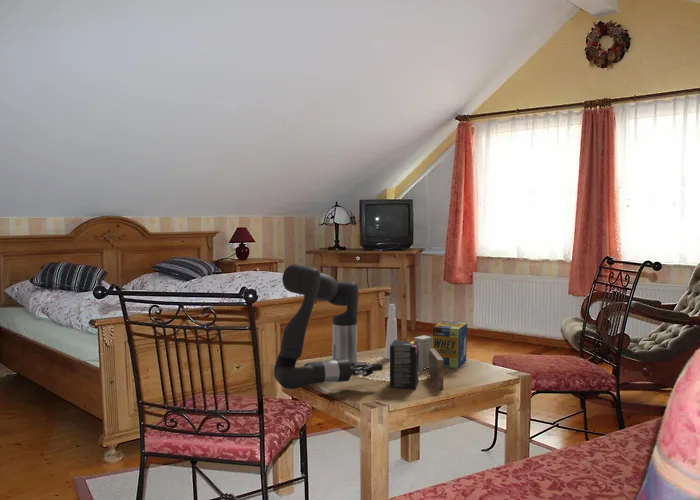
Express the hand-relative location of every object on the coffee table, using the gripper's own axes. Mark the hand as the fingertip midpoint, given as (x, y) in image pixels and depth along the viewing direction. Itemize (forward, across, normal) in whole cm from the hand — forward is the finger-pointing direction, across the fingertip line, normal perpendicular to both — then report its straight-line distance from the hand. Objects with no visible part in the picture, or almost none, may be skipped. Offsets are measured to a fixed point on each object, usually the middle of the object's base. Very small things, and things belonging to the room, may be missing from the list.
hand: (381, 366), depth 231 cm
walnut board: (+21, -1, +7) cm, 22 cm away
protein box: (+40, +22, +7) cm, 46 cm away
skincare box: (+26, +18, +7) cm, 33 cm away
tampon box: (+9, 0, +7) cm, 12 cm away
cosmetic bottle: (+23, +39, +7) cm, 46 cm away
